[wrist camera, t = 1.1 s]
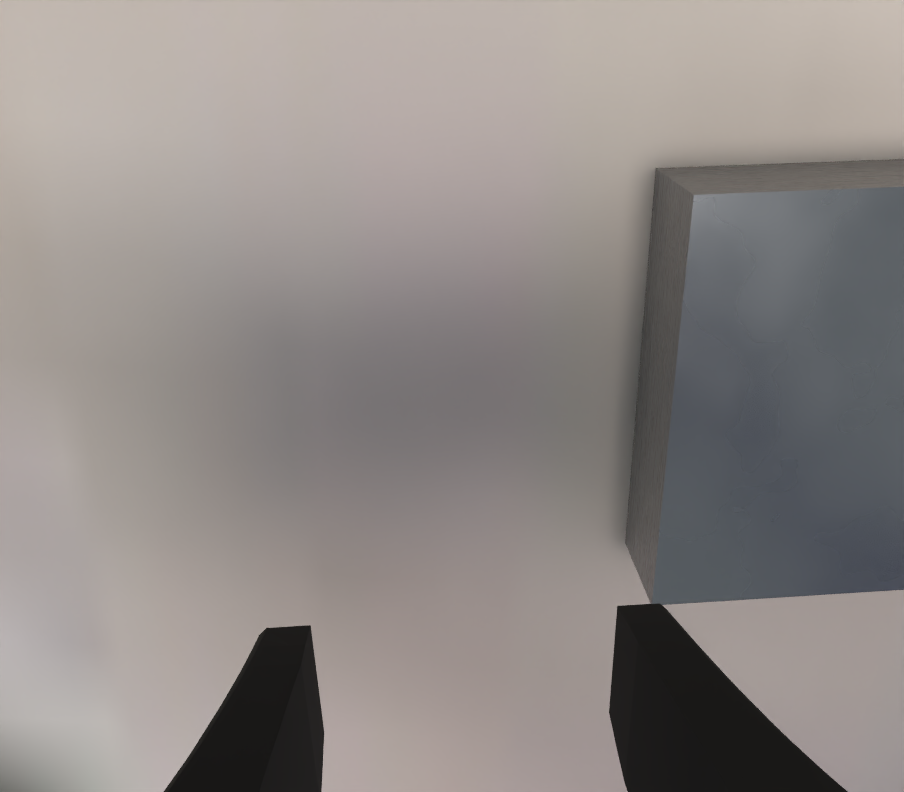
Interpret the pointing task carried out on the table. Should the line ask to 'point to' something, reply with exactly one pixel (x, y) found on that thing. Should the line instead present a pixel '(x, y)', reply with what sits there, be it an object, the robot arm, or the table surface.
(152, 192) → the table surface
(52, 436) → the table surface
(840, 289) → the steel slab
